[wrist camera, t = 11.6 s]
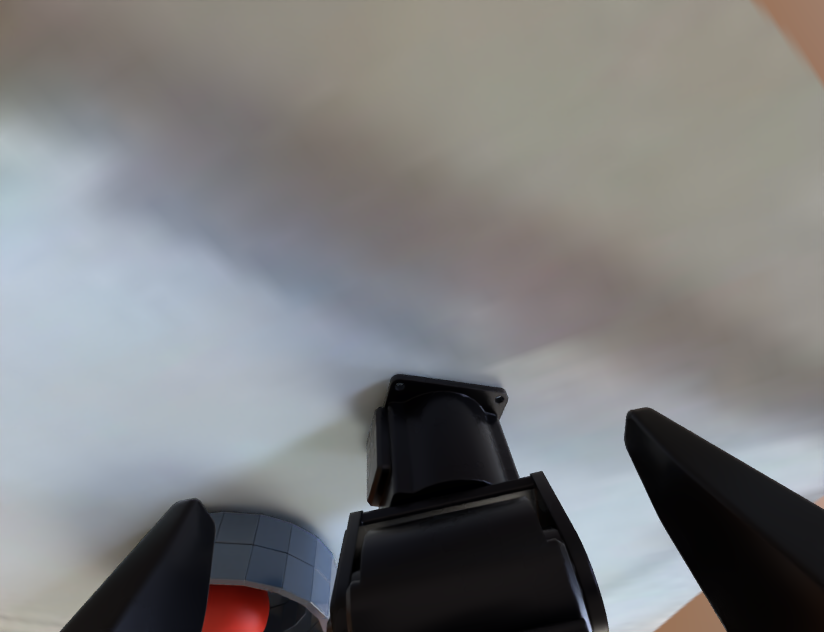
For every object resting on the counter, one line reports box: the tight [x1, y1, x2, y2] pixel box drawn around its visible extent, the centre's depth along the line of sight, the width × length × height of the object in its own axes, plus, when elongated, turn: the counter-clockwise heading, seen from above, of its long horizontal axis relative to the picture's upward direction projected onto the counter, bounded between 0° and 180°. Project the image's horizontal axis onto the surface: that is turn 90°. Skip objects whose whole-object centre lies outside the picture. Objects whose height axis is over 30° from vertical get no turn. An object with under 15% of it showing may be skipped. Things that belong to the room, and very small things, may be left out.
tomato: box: [202, 584, 269, 632], centre depth 28 cm, size 5×5×5 cm
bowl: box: [209, 512, 337, 632], centre depth 29 cm, size 13×13×4 cm
